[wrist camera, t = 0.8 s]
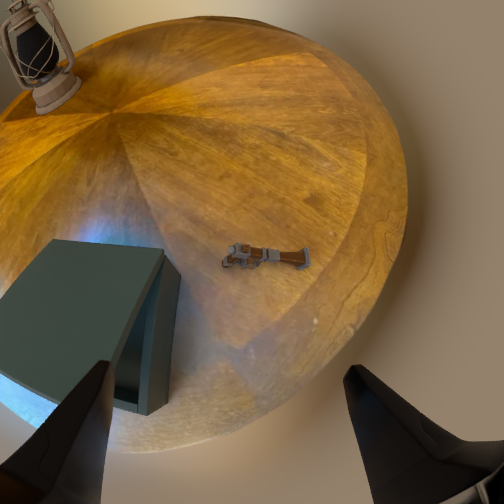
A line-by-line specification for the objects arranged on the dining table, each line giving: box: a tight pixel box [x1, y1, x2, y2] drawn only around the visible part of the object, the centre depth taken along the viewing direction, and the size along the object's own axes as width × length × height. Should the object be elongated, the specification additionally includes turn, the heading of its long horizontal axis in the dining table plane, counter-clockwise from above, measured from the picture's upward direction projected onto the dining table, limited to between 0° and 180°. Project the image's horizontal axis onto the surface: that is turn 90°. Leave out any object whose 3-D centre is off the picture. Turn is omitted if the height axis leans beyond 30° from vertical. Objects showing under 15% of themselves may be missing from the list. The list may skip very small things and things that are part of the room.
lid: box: [0, 239, 165, 405], centre depth 14 cm, size 13×12×1 cm
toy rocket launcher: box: [222, 243, 311, 271], centre depth 25 cm, size 2×8×4 cm, turn 94°
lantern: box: [0, 0, 82, 115], centre depth 24 cm, size 15×12×30 cm
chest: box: [113, 255, 181, 416], centre depth 21 cm, size 13×12×6 cm
